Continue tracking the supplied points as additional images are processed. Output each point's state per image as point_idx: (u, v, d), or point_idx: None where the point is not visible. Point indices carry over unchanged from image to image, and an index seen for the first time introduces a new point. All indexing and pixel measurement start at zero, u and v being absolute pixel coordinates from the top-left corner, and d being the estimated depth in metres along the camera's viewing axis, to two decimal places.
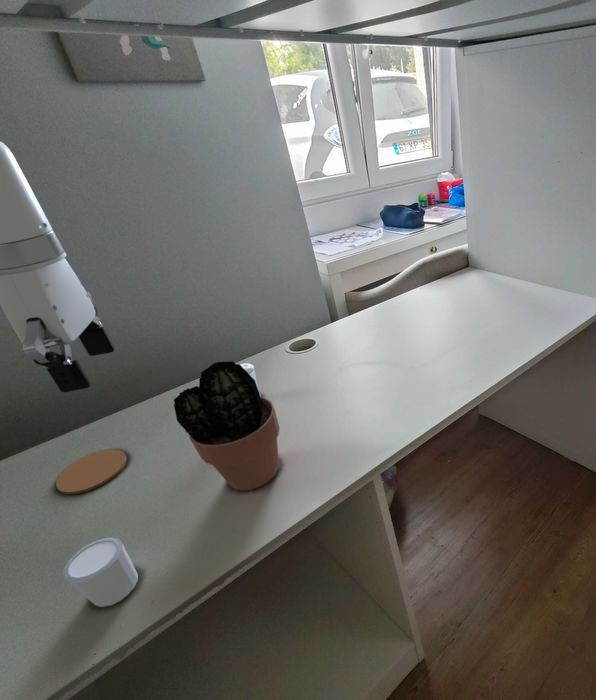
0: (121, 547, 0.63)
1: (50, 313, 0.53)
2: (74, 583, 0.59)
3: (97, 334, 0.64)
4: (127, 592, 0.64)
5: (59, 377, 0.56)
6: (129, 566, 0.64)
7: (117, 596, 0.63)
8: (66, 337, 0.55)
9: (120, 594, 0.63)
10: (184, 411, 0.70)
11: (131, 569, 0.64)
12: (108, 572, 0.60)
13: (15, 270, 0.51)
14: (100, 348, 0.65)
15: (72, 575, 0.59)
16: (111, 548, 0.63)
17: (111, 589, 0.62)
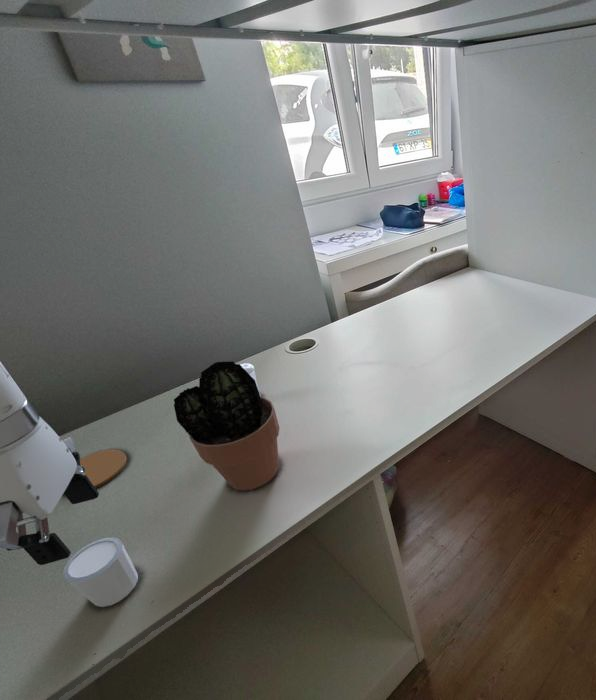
0: (121, 547, 0.63)
1: (23, 494, 0.49)
2: (74, 583, 0.59)
3: (79, 484, 0.60)
4: (127, 592, 0.64)
5: (35, 554, 0.52)
6: (129, 566, 0.64)
7: (117, 596, 0.63)
8: (42, 513, 0.51)
9: (120, 594, 0.63)
10: (184, 411, 0.70)
11: (131, 569, 0.64)
12: (108, 572, 0.60)
13: None
14: (83, 496, 0.61)
15: (72, 575, 0.59)
16: (111, 548, 0.63)
17: (111, 589, 0.62)
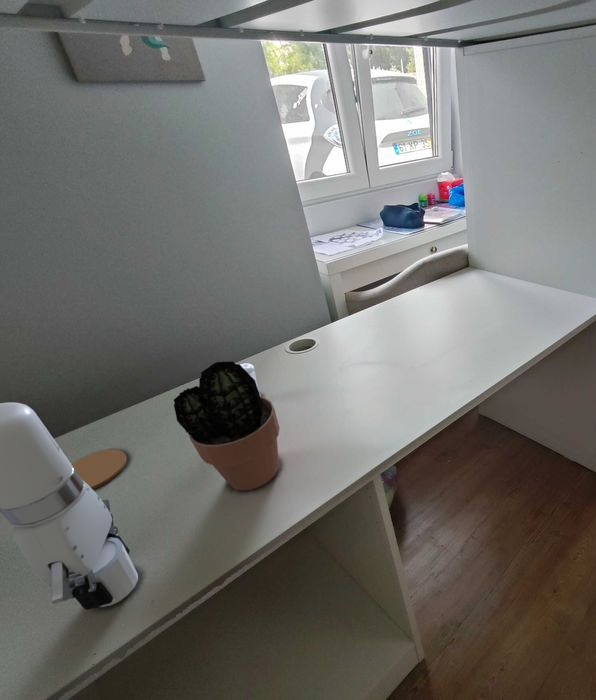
0: (121, 547, 0.63)
1: (70, 555, 0.55)
2: None
3: None
4: (127, 592, 0.64)
5: (84, 601, 0.59)
6: (129, 566, 0.64)
7: (117, 596, 0.63)
8: (85, 570, 0.57)
9: (120, 594, 0.63)
10: (184, 411, 0.70)
11: (131, 569, 0.64)
12: (108, 572, 0.60)
13: (37, 523, 0.52)
14: None
15: None
16: (111, 548, 0.63)
17: (111, 589, 0.62)
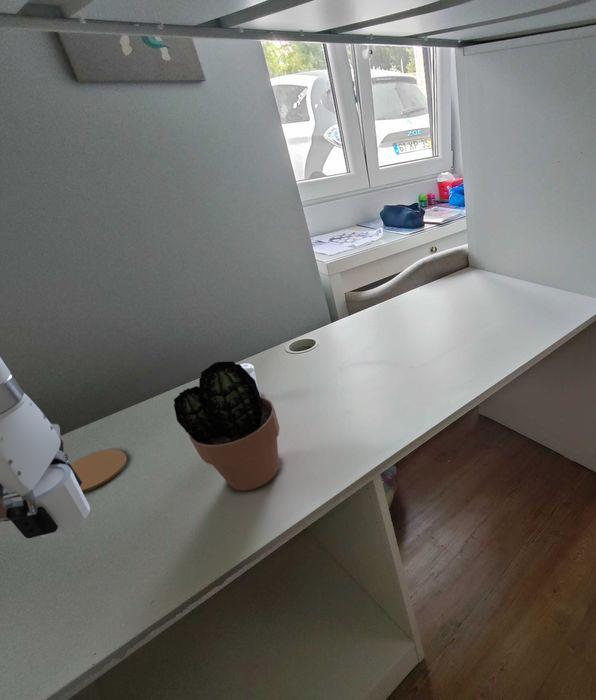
0: (69, 473, 0.57)
1: (4, 469, 0.49)
2: None
3: None
4: (75, 524, 0.58)
5: (23, 527, 0.53)
6: (79, 495, 0.58)
7: (64, 527, 0.57)
8: (23, 489, 0.51)
9: (67, 525, 0.57)
10: (184, 411, 0.70)
11: (81, 499, 0.58)
12: (52, 497, 0.54)
13: None
14: None
15: (11, 499, 0.53)
16: (58, 474, 0.57)
17: (56, 518, 0.56)
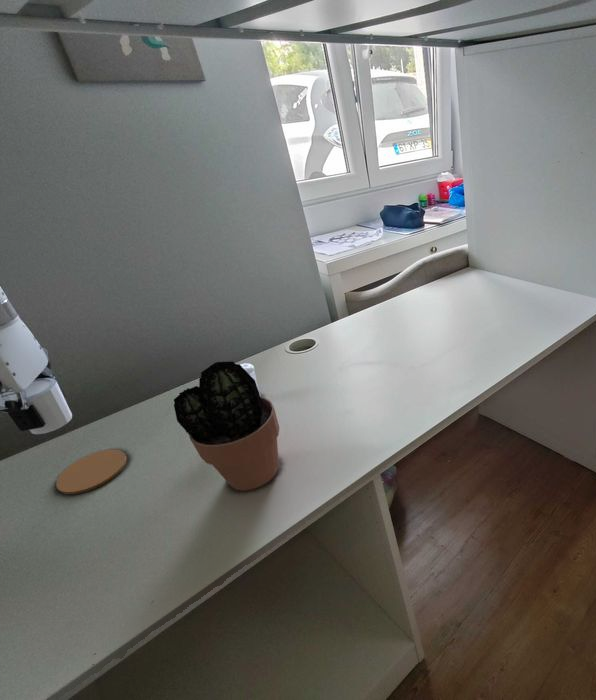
0: (55, 383, 0.72)
1: (3, 369, 0.64)
2: None
3: None
4: (60, 424, 0.73)
5: (18, 419, 0.68)
6: (62, 402, 0.73)
7: (51, 425, 0.72)
8: (17, 387, 0.66)
9: (53, 424, 0.72)
10: (184, 411, 0.70)
11: (65, 406, 0.74)
12: (41, 399, 0.70)
13: None
14: None
15: (9, 398, 0.69)
16: (46, 384, 0.72)
17: (44, 416, 0.71)
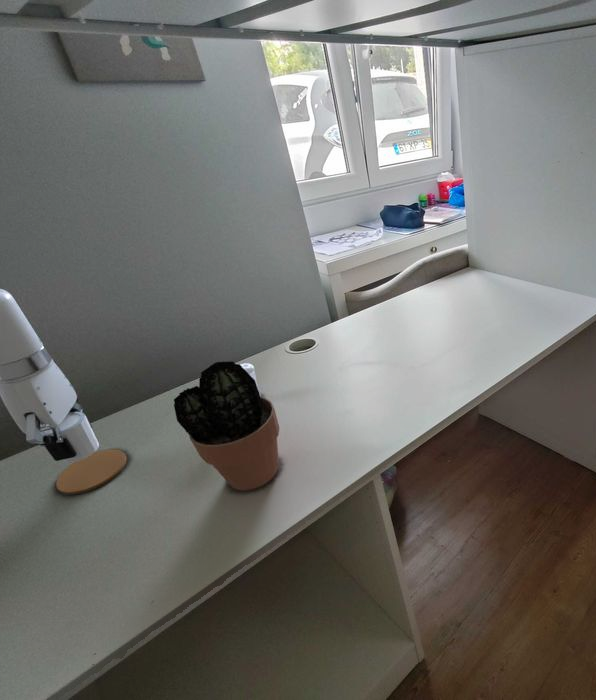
0: (84, 417, 0.81)
1: (41, 408, 0.73)
2: None
3: None
4: (89, 453, 0.82)
5: (53, 451, 0.77)
6: (91, 433, 0.82)
7: (81, 454, 0.81)
8: (53, 423, 0.75)
9: (83, 453, 0.81)
10: (184, 411, 0.70)
11: (92, 436, 0.82)
12: (73, 432, 0.78)
13: (15, 380, 0.70)
14: None
15: (45, 432, 0.77)
16: (76, 417, 0.81)
17: (76, 447, 0.80)
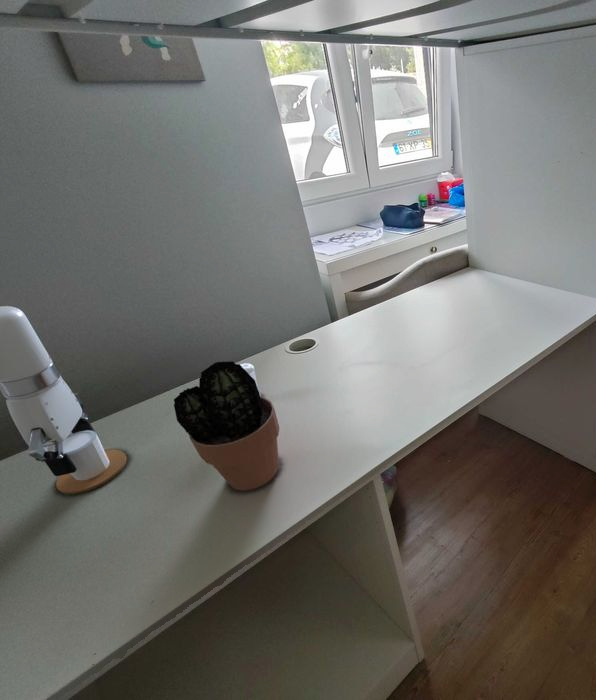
0: (95, 436, 0.83)
1: (48, 424, 0.74)
2: None
3: (83, 426, 0.85)
4: (100, 471, 0.84)
5: (53, 467, 0.77)
6: (102, 451, 0.84)
7: (92, 472, 0.83)
8: (59, 438, 0.76)
9: (94, 471, 0.83)
10: (184, 411, 0.70)
11: (103, 454, 0.85)
12: (85, 451, 0.81)
13: (24, 396, 0.72)
14: None
15: None
16: (88, 436, 0.83)
17: (87, 465, 0.82)
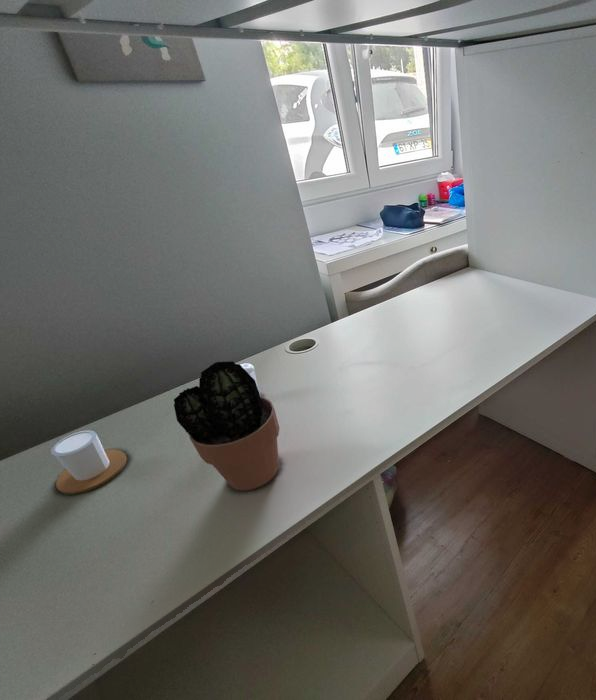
0: (95, 436, 0.83)
1: None
2: (59, 456, 0.79)
3: None
4: (100, 471, 0.84)
5: None
6: (102, 451, 0.84)
7: (92, 472, 0.83)
8: None
9: (94, 471, 0.83)
10: (184, 411, 0.70)
11: (103, 454, 0.85)
12: (85, 451, 0.81)
13: None
14: None
15: (58, 452, 0.80)
16: (88, 436, 0.83)
17: (87, 465, 0.82)
